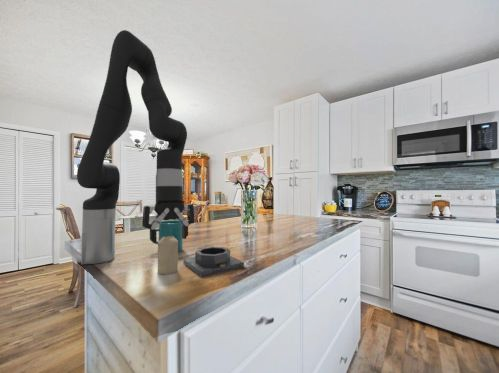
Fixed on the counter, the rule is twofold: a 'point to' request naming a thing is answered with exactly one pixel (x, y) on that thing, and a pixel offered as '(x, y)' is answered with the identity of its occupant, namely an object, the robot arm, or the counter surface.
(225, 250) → the mount
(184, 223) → the robot arm
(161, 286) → the counter surface
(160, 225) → the cup
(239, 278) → the counter surface
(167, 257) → the candle
